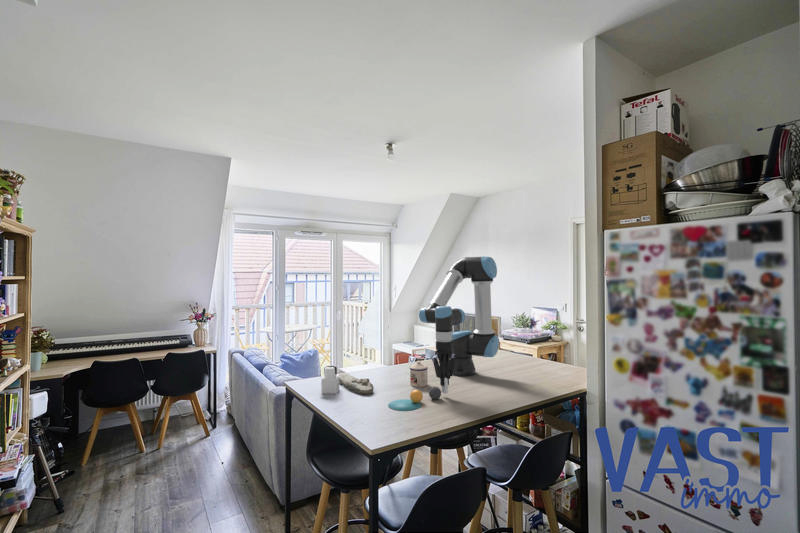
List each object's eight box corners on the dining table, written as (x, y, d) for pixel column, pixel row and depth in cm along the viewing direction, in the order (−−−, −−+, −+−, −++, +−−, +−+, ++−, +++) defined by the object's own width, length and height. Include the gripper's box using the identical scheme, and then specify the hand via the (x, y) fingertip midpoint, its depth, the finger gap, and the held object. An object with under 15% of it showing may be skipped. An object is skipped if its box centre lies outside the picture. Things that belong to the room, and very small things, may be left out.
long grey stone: (348, 380, 212) (331, 384, 206) (348, 370, 212) (331, 374, 207) (379, 392, 182) (360, 397, 177) (378, 381, 182) (359, 385, 177)
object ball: (418, 388, 172) (408, 388, 169) (425, 391, 167) (414, 391, 164) (418, 400, 172) (407, 401, 169) (424, 404, 167) (413, 405, 164)
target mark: (410, 397, 175) (410, 397, 175) (427, 407, 162) (427, 406, 162) (382, 403, 168) (382, 402, 168) (398, 413, 156) (398, 412, 156)
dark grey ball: (427, 384, 173) (425, 397, 173) (435, 388, 169) (432, 400, 168) (437, 385, 176) (434, 397, 176) (444, 388, 172) (442, 401, 171)
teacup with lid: (406, 383, 197) (406, 360, 197) (422, 381, 201) (422, 358, 201) (418, 390, 186) (418, 365, 186) (434, 387, 190) (434, 363, 190)
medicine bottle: (324, 389, 189) (324, 364, 189) (339, 389, 189) (339, 364, 189) (321, 394, 182) (321, 368, 182) (336, 394, 182) (336, 368, 182)
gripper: (450, 338, 182) (451, 388, 182) (427, 340, 176) (428, 392, 175) (460, 340, 176) (461, 392, 175) (436, 343, 169) (437, 397, 169)
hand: (444, 392), depth 175 cm, fingers closed
